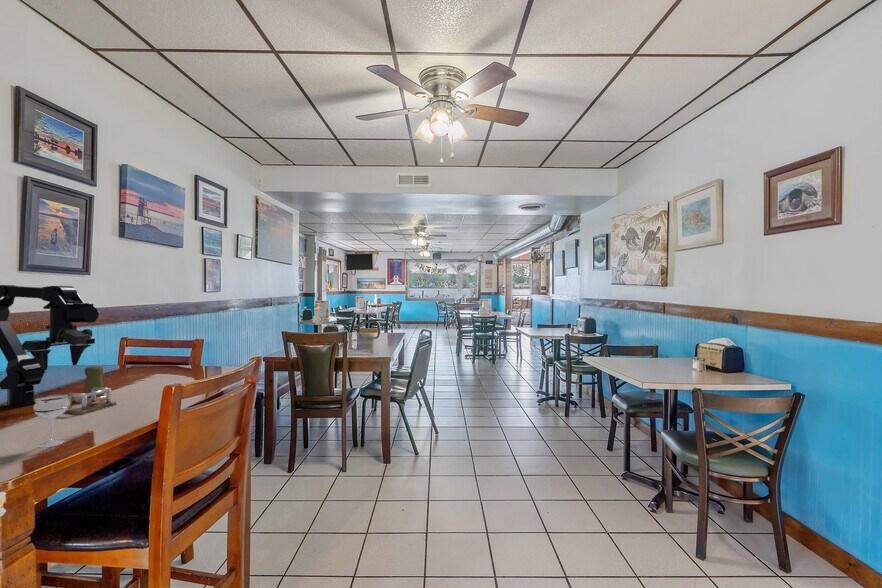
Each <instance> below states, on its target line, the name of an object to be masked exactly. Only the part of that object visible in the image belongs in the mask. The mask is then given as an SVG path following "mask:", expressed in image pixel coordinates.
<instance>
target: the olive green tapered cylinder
mask: <svg viewBox="0 0 882 588" xmlns="http://www.w3.org/2000/svg"><path fill="white" fill-rule="evenodd" d="M103 373H104V367H103V366H102V365H92V366H91V365H90V366H86V367H85V369H84V375H85V381H84V388H83V392H82V394H87V393H91V389H92V388H93V387H99V388H104V383H103V376H102V374H103ZM101 396H104V393H102V394H98V395H96V398H97V397H101ZM87 398H91V396H90V397H87Z"/></svg>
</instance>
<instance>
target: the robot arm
mask: <svg viewBox="0 0 882 588" xmlns="http://www.w3.org/2000/svg"><path fill="white" fill-rule="evenodd" d="M15 298H27V299H28V298H30V299H40V300H42V301H45V302H48V303H47V304H45V305H44V306H43V307H42V308H43V309H44V310H49V324H47V325H45V328H46V329H49V330H48V333H49V336H47V337H45V339H32V340H31V339H30V340H25V341H23V343H22V342H21V341H20V339H19V337H18V335H17V334H16V332H15V330H14V329H13V327H12V325H11V323H10V321H9V316H10V313H11V310H10V309H9V308H10V307H11V306H13V304H14V303H15ZM98 319H99V312H98V309H97V307H95V306H94V303H92V302H85V301H84V300H83V298H82V297H81V296H80V294H79V293H78V291H77V289H76V288H75V287H74V286H71V285H49V286H42V287H38V286H37V287H35V286H22V285H20V286H18V285H14V284H0V350H1V352H2V354H3V356H4V358H5V360H6V361H7V364H6V368H5V373H6V376H5V377H4V378H3V379H2V380H1V381H0V390H6V392H7V397H6V403H3V404H1V405H0V406H1V407H8V408H19V407H25V406H28V405H33V404H36V402H35V401H34V399H35V386H34V385H40V384H41V382H42V379H43V377H44V375H45V373H46V371H47V370H48V367H49V366H48V362H49V354H50V352H51V351H52V349H49V348H50V347H56V346H65V345H69V352H70V360H71V363H72V365H73V366H77V365H78V362H79V360H80V358H81V357H82V355H83V353H84V352H85V350H86V349H87V348H88V347H92V344H93V345H94V344H96V339H95V337H94V335H93V330H91V329H89V328H87V329H83V330H78V329H77V325H76V324H79V323H83V324H84V323H88V324H91V323H95V322H96V321H97V320H98ZM75 323H76V324H75ZM28 353H30V354H31V355H32V356H31V355H30V356H29V355H28Z"/></svg>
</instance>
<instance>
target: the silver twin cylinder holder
mask: <svg viewBox="0 0 882 588" xmlns="http://www.w3.org/2000/svg"><path fill="white" fill-rule="evenodd" d="M102 393H106V400H105V401H106V403H111V402H112V397H111V394H112V389H111V388H110V387H103V388H99V387H93V388H92V389H91V393H87V394H83V393H77V392H76V393H75V392H68V393H67V394H66V395H70V396H69V398H68V400H69V401H70V405H69V408H68V409H70V408H71V407H72V398H76V397H80V398H82V403H81V408H82V410H87V407H88V406H87V397H90V396H91V402H96V395H98V394H102Z"/></svg>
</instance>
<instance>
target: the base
mask: <svg viewBox="0 0 882 588" xmlns="http://www.w3.org/2000/svg"><path fill="white" fill-rule="evenodd" d="M113 405H114V406H117V401H111V403H106V400H103V401H96V402H91V401H90V402H87V410H82V407H75V406H71V408H70V409H68V410H66V411H65V412H64V413H63V414H74V415H86V413H87V414H90V413H93V412H96V410H97V411H100V410H104V409H106V407H107V408H110V407H109V406H111V407H114V406H113ZM103 408H104V409H103Z"/></svg>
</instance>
